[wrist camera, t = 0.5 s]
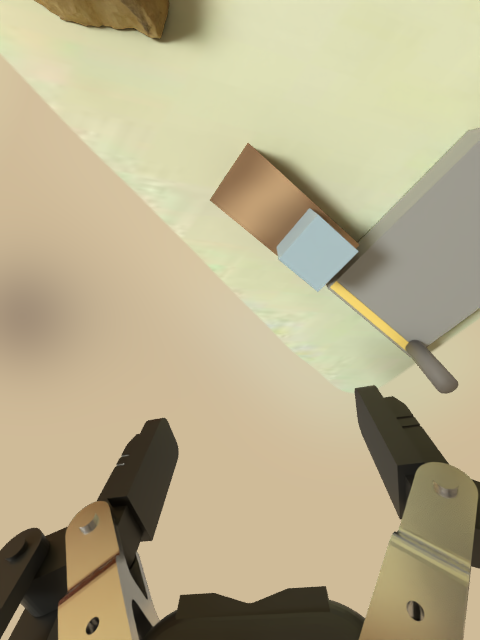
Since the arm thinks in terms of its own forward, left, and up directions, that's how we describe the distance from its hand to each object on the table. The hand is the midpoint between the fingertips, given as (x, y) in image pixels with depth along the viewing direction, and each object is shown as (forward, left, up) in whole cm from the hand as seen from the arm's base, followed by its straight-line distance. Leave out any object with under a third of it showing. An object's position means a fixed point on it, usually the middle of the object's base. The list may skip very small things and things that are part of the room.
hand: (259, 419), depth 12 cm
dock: (-11, +11, -20) cm, 25 cm away
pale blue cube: (-5, +1, -16) cm, 17 cm away
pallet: (-5, -2, -20) cm, 21 cm away
